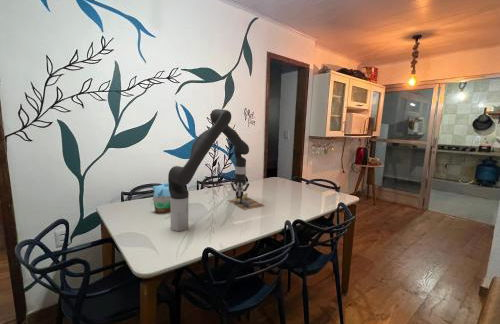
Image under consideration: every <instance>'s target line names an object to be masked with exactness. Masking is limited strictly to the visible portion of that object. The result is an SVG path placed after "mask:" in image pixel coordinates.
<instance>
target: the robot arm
mask: <svg viewBox="0 0 500 324" xmlns="http://www.w3.org/2000/svg"><path fill="white" fill-rule="evenodd" d="M209 117H210V121H211V122H212V124H213V125H212V126H211V127H209V128H208V129H206V130H204V131H203V132H202V133H201V134H199V135H198V137H196V139H195V141H193V143H192V146H191V149H190V156H189V158H188V160H187V162H186V163H185V164H184V165H183V166H179V165H175V166H172V167H171V168H170V170H169V171H168V175H167V178H168V180H167V181H168V182H167V183H168V184H169V192H170V212H169V214H170V230H171V231H175V232H182V231H185V230H189V215H190V214H189V203H190V202H189V195H190V193H189V191H188V189H187V188H186V187H185V186H187V185H188V184H190V182H191V181H192V179H193V177H194V176H195V174H196V173H197V170H198V169H199V166H200V165H201V164H202V162H203V160H204V159H205V157H206V155H207V154H208V152H209V151H210V150H211V149H212V147H213V146H214V143H215V142H216V141H217V139H218V138H219V136H221V134H222V133H223V135H224V136H225V137H226V138H227V140H228V141H229V142H230V144H231V145H232V146H233V147H234V148H233V153H234V158H235V168H234V169H235V170H234V181H233V182H230V187H231V188H232V190H233V192H235V196H237V197H238V187H241V189H242V191H241V197H242V196H243V195H244V192H246V191H247V189H248V188H249V186H250V183H249V182H247V180H246V175H247V169H246V167H247V159H246V158H245V157H243V156H242V155H244V156H245V155H247V154H249V152H250V147H249V145H248V144H247V142H245V141H244V140H243V139H242V138H241V137H240V135H239V133H238V132H237V131H236V130H234V128H232V127H231V126H230V125H229V124H230V123H231V120H232V112H231V111H230V110H227V109H219V108H216V109H213V110H212V111H211V112H210V116H209ZM235 186H236V187H235Z"/></svg>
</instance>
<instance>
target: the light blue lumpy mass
mask: <svg viewBox="0 0 500 324" xmlns="http://www.w3.org/2000/svg"><path fill="white" fill-rule="evenodd" d="M152 190H153V192H154V193H153V196H154V197H161V196H165V197H170V192H169V184H168V182H164V183H162V184H160V185H153V186H152Z"/></svg>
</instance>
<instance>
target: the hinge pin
mask: <svg viewBox="0 0 500 324" xmlns="http://www.w3.org/2000/svg"><path fill="white" fill-rule="evenodd" d="M241 191H242V189H241V187H238V198H241Z"/></svg>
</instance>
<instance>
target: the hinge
mask: <svg viewBox="0 0 500 324" xmlns="http://www.w3.org/2000/svg"><path fill="white" fill-rule="evenodd" d="M247 197H248V193H247V192H246V193H243V196H242V197H241V198H238V197H237V196H236V195H235V196H234V199H235V203H236V204H241V205H243V206H245V207H247V208H249V205H250V202H248V201H246V199H247Z"/></svg>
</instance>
